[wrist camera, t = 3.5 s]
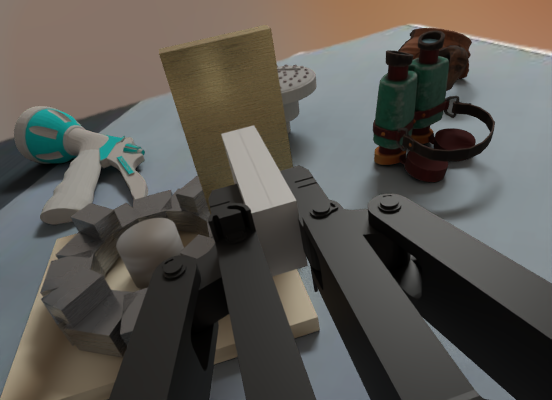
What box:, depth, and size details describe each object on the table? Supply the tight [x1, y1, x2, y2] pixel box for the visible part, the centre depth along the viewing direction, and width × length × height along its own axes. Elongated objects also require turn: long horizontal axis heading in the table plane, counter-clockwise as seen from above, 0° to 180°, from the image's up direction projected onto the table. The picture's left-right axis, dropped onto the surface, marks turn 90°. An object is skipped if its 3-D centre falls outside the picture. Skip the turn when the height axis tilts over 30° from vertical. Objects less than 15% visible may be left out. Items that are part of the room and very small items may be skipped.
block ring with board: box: [40, 25, 293, 358], centre depth 25 cm, size 18×14×14 cm
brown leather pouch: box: [398, 28, 472, 91], centre depth 49 cm, size 12×10×8 cm
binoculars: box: [373, 31, 495, 182], centre depth 34 cm, size 9×11×10 cm
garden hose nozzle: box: [14, 106, 148, 225], centre depth 45 cm, size 7×18×20 cm
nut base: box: [0, 218, 320, 400], centre depth 28 cm, size 18×16×4 cm
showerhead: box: [277, 65, 316, 133], centre depth 45 cm, size 9×7×10 cm
